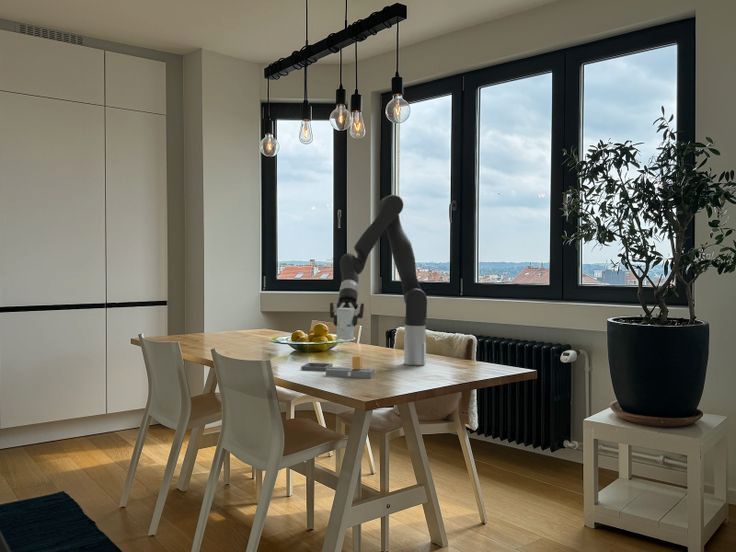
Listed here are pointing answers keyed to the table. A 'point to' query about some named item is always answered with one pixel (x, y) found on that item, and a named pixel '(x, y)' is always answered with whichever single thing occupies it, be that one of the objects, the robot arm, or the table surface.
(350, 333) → the skincare box
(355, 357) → the block
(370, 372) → the switch panel
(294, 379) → the table surface
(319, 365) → the frame
